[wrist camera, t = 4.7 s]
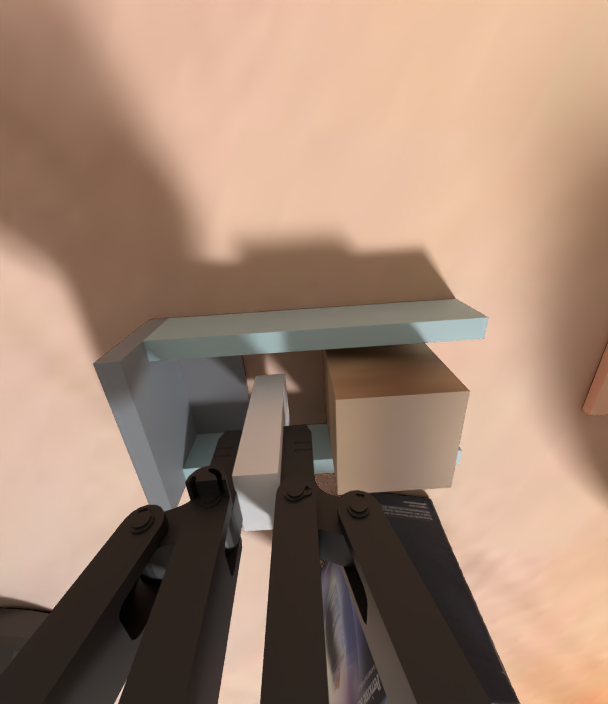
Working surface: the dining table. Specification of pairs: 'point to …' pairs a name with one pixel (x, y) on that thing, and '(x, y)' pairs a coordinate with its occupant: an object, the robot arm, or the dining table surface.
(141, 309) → the dining table surface
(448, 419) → the block
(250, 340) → the channel
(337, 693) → the small box
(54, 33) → the dining table surface
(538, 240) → the dining table surface
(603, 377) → the tile
